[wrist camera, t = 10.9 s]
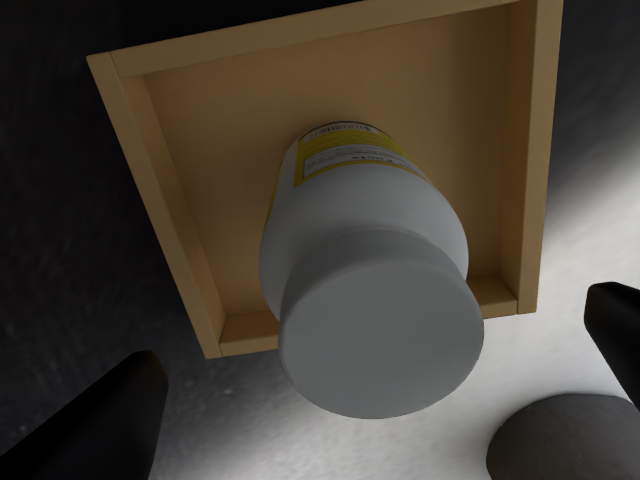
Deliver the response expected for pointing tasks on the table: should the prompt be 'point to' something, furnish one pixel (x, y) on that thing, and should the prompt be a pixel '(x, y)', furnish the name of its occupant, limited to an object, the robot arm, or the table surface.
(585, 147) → the table surface
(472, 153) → the tray
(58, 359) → the table surface
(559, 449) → the pillar candle
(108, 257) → the table surface
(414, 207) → the supplement bottle
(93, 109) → the table surface
